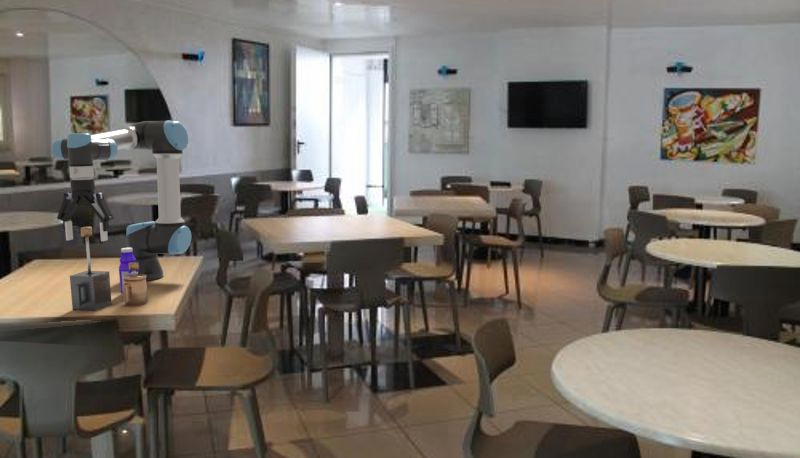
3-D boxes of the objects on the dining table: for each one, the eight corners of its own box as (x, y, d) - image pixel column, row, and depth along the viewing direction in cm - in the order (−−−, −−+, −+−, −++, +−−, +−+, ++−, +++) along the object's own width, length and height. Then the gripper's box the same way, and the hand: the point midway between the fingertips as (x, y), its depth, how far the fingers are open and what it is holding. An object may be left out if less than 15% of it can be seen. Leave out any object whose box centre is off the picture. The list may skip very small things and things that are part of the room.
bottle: (131, 296, 263) (128, 250, 260) (117, 295, 264) (114, 249, 261) (142, 291, 270) (139, 246, 267) (128, 291, 271) (125, 246, 268)
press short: (132, 299, 257) (130, 260, 255) (152, 300, 255) (149, 261, 253) (115, 307, 246) (112, 266, 244) (135, 308, 245) (132, 266, 243)
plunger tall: (88, 279, 250) (83, 225, 247) (105, 279, 248) (101, 226, 245) (75, 283, 243) (70, 228, 240) (92, 284, 242) (88, 229, 239)
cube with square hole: (89, 303, 252) (86, 270, 250) (111, 304, 250) (109, 271, 248) (66, 312, 240) (63, 277, 239) (89, 313, 239) (87, 278, 237)
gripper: (42, 179, 239) (47, 241, 242) (107, 179, 234) (112, 242, 237) (57, 177, 247) (62, 237, 250) (121, 178, 241) (125, 239, 244)
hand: (86, 240), depth 243 cm, fingers open, 13 cm apart
